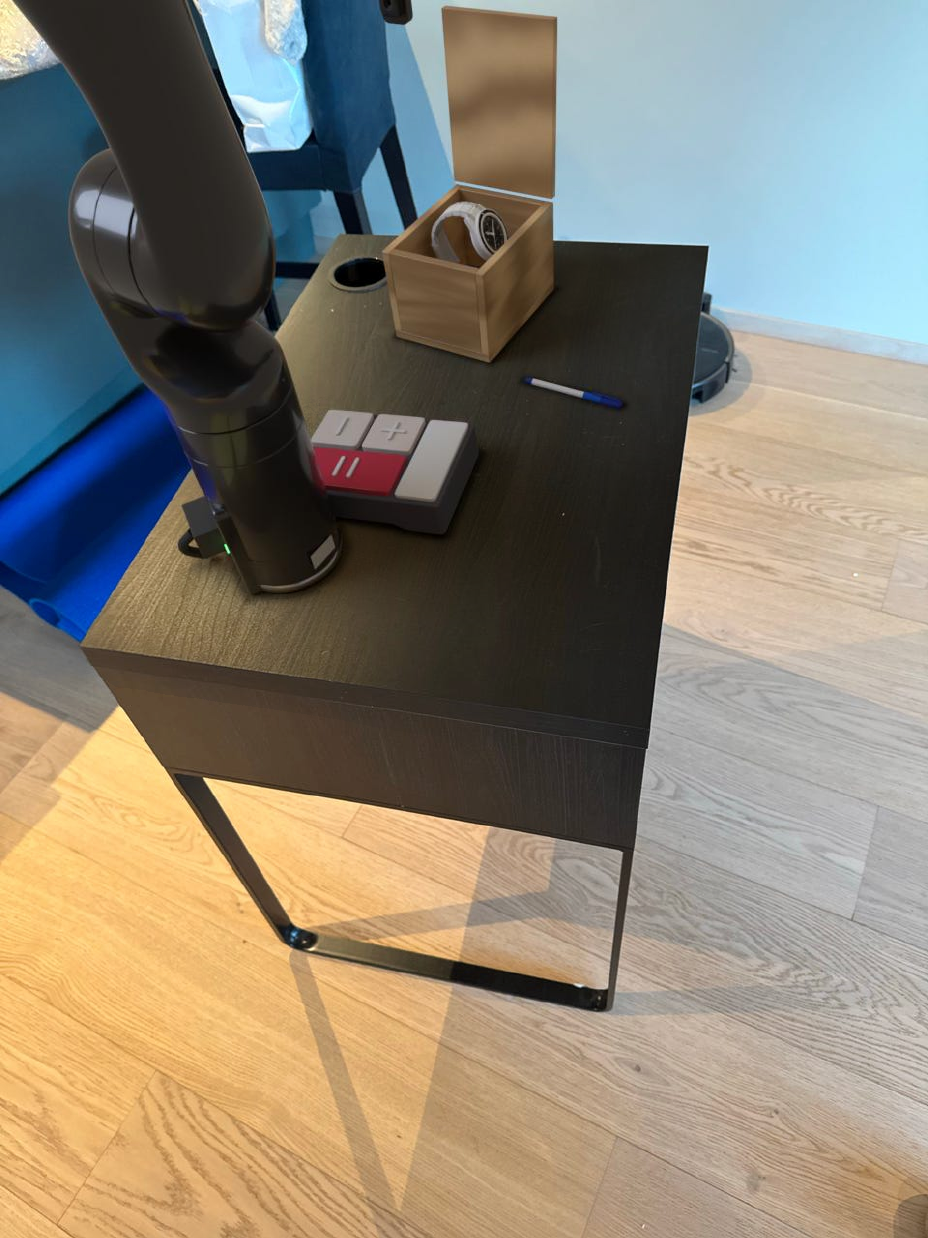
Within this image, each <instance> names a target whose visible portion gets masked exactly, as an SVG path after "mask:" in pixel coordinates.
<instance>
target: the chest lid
mask: <svg viewBox="0 0 928 1238" xmlns="http://www.w3.org/2000/svg"><path fill="white" fill-rule="evenodd" d="M440 11H441V24H442V25H441V26H442V37H443V50H444V64H445V75H446V77H445V78H446V89H447V90H446V91H447V101H448V103H447V104H448V117H449V129H450V141H451V142H450V143H451V156H452V167H453V180H454V182H458V183H464V184H470V185H473V186H474V185H475V186H478V187H479V186H480V187H484V188H485V187H486V188H490V189H496V190H501V191H506V192H512V193H517V194H520V195H522V194H523V195H528V196H533V197H538V198H543V199H549V200H553V198H555V197H556V152H557V151H556V149H557V146H556V145H557V144H556V141H557V138H556V137H557V77H558V76H557V74H558V73H557V72H558V71H557V70H558V67H557V66H558V65H557V64H558V62H557V61H558V16H555V15H554V16H553V15H543V14H534V13H524V12H512V11H505V10H504V11H503V10H494V9H493V10H492V9H483V8H475V7H474V8H473V7H464V6H463V7H462V6H453V5H444V6H442V7H441V8H440Z"/></svg>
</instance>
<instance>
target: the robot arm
mask: <svg viewBox="0 0 928 1238" xmlns="http://www.w3.org/2000/svg"><path fill="white" fill-rule="evenodd" d="M11 1H12V3H13V4H14V5H15V6H16V7H17V8H18V10H19V11H20V12H21V13H22V15H23V16H24V18H26V20H27V21H28V22H29V24H30V25H31V26H32V27H33V28H34V30H35V31H36V32H37V33H38V35H39V36H40V37H41V39H42V40H43V41H44V43H45V44H46V45H47V47H48V48H49V50H50V51H51V52H52V53H53V54H54V56H55V57H56V58H57V60H58V62H59V63H60V64H61V65H62V67H63V68H64V69H65V70H66V72H67V73H68V76H70V78H71V79H72V81H73V83H74V84H75V86H76V87H77V89H78V90H79V92H80V93H81V95H82V96H83V98H84V100H85V102H86V104H87V105H88V107H89V108H90V110H91V111H92V114H93V116H94V117H95V119H96V122H97V124H98V126H99V128H100V130H101V132H102V134H103V135H104V138H105V140H106V142H107V145H108V147H109V148H106V149H104V150H101V151H100V152H98V153H97V154H95V155H92V157H91V158H89V159H88V160H87V161H86V162H85V163H84V165H82V167H81V169H80V170H79V172H78V173H77V174H76V177H75V180H74V181H73V184H72V187H71V191H70V195H69V200H68V209H67V210H68V214H67V215H68V219H67V220H68V230H69V237H70V240H71V245H72V249H73V253H74V255H75V260H76V261H77V264H78V266H79V269H80V272H81V274H82V277H83V279H84V280H85V283H86V285H87V287H88V289H89V291H90V293H91V295H92V297H93V299H94V301H95V303H96V305H97V307H98V308H99V310H100V312H101V313H102V316H103V318H104V320H105V322H106V323H107V325H108V327H109V329H110V331H111V332H112V335H113V336H114V338H115V340H116V342H117V344H118V346H119V347H120V350H121V351H122V353H123V355H124V357H125V359H126V360H127V362H128V364H129V366H130V367H131V369H132V371H133V372H134V373H135V376H137V378H138V379H139V380H140V381H141V383H142V384H143V385H144V386H145V387H146V388H147V389H148V390H149V391H150V392H151V393H152V394H153V395H154V396H155V397H156V398H157V399H158V401H159V402H160V404H161V406H162V408H163V410H164V412H165V414H166V417H168V420H169V422H170V425H171V426H172V429H173V430H174V433H175V435H176V437H177V439H178V441H179V443H180V445H181V448H182V450H183V452H184V454H185V456H186V458H187V461H188V463H189V465H190V467H191V469H192V471H193V474H194V476H195V478H196V480H197V483H198V485H199V487H200V489H201V491H202V493H203V496H201V497H199V498H195V499H193V500H190V501H187V502H185V503H183V504H181V508H182V511H183V514H184V516H185V519H186V522H187V525H188V529H187V530H186V531H185V533H183V535H182V536H180V538H179V539H178V541H177V549H178V551H179V552H180V553H181V554H182V555H184V556H186V557H190V558H195V559H201V560H207V559H210V558H213V557H215V556H218V555H220V554H223V553H225V552H227V554H230V557H231V558H232V561H233V563H234V565H235V567H236V569H237V571H238V574H239V575H240V578H241V580H242V582H243V584H244V586H245V588H246V591H247V593H248V594H249V595H251V596H252V595H254V594H257V593H260V592H266V593H272V594H273V593H275V594H282V593H284V594H285V593H290V592H295V591H299V590H302V589H305V588H309V587H310V586H312V585H314V584H316V583H318V582H319V581H321V580H322V579H324V578H325V577H326V576H327V575H329V573H330V572H331V571H332V570H333V569H334V567H335V566H336V565H337V563H338V561H339V560H340V557H341V555H342V551H343V537H342V534H341V531H340V528H339V525H338V523H337V520H336V517H334V515H333V512H332V508H331V505H330V502H329V498H328V495H327V492H326V488H325V485H324V482H323V479H322V475H321V472H320V469H319V465H318V462H317V459H316V456H315V452H314V449H313V446H312V442H311V439H312V438H311V437H310V436H311V435H310V433H309V429H308V426H307V423H306V420H305V416H304V413H303V410H302V406H301V403H300V400H299V397H298V394H297V390H296V386H295V384H294V383H295V382H294V381H293V376H292V373H291V370H290V368H289V364H288V361H287V358H286V355H285V352H284V350H283V348H282V346H281V344H280V342H279V341H278V340H277V338H276V337H275V336H274V334H272V332H270V331H269V330H268V329H267V328H266V327H264V326H263V325H262V324H261V323H259V321H258V320H257V319H259V317H260V316H261V315H262V314H263V311H264V310H265V308H266V306H267V305H268V303H269V301H270V298H271V294H272V291H273V289H274V284H275V277H276V271H277V251H276V249H277V248H276V242H275V241H276V240H275V234H274V229H273V224H272V219H271V216H270V213H269V209H268V206H267V202H266V200H265V198H264V194H263V192H262V189H261V186H260V183H259V181H258V179H257V176H256V175H255V171H254V169H253V166H252V164H251V162H250V160H249V157H248V154H247V153H246V150H245V148H244V145H243V142H242V140H241V138H240V135H239V133H238V131H237V128H236V125H235V123H234V121H233V118H232V116H231V114H230V111H229V109H228V106H227V103H226V101H225V99H224V96H223V94H222V92H221V89H220V87H219V84H218V82H217V79H216V77H215V74H214V71H213V69H212V66H211V63H210V61H209V59H208V56H207V53H206V50H205V48H204V45H203V43H202V42H203V41H202V39H201V37H200V34H199V31H198V28H197V26H196V23H195V19H194V17H193V14H192V11H191V8H190V5H189V2H188V0H11ZM378 5H379V10H380V13H381V15H382V19H383V21H384V22H385V23H387V24H391V25H399V26H405V25H407V24H408V23H410V22H412V20H413V18H414V13H413V5H412V0H378ZM193 541H194V542H195V544H196V545H197V546H193V545H190V544H191V543H192V542H193Z"/></svg>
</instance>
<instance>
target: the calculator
mask: <svg viewBox="0 0 928 1238" xmlns="http://www.w3.org/2000/svg"><path fill="white" fill-rule="evenodd" d="M310 439H311V442H312V446H313V449H314V452H315V456H316V459H317V462H318V465H319V469H320V472H321V475H322V479H323V482H324V485H325V488H326V492H327V495H328V498H329V502H330V505H331V508H332V512H333V515H334V517H335V518H342V519H350V520H351V519H352V520H359V521H367V522H374V523H384V524H389V525H395V526H397V527H399V528H401V529H402V530H404V531H409V532H417V533H426V534H433V535H444V534H445V533H446V532H447V530H448V528H449V526H450V523H451V521H452V519H453V516H454V514H455V512H456V510H457V507H458V504H459V502H460V500H461V497H462V495H463V493H464V490H465V488H466V486H467V483H468V481H469V479H470V476H471V474H472V472H473V469H474V466H475V465H476V462H477V460H478V457H479V455H480V451H479V445H478V439H477V434H476V429H475V425H474V423H472V422H464V421H463V422H462V421H454V420H453V421H451V420H441V419H440V420H439V419H430V418H425V417H421V416H412V415H399V414H387V413H380V414H374V413H372V412H364V411H351V410H342V409H341V410H340V409H329V410H328V411H327V412H326V414H325V415H324V417H323V419H322V420H321V422H320V424H319V425H318V427H317V428H316V430H315V432H314V434H313V435H312V436H311V438H310Z"/></svg>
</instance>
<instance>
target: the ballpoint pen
mask: <svg viewBox="0 0 928 1238" xmlns="http://www.w3.org/2000/svg"><path fill="white" fill-rule="evenodd" d="M524 382H526V383H528V384H530V385H533V386H536V387H540V388H544V389H547V390H551V391H554V392H559V393H563V394H565V395H569V396H573V397H577V398H581V399H583V400H587V401H590V402H594V403H598V404H601V405H605V406H608V407H612V408H617V409H621V408H622V407H623V403H622V401H621V400H620V399H617V398H615V397H612V396H609V395H606V394H602V393H599V392H595V391H592V392H587V391H583V390H580V389H579V390H578V389H575V388H571V387H567V386H564V385H560V384H556V383H552V382H548V381H545V380H541V379H537V378H533V377H525V379H524Z"/></svg>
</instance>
